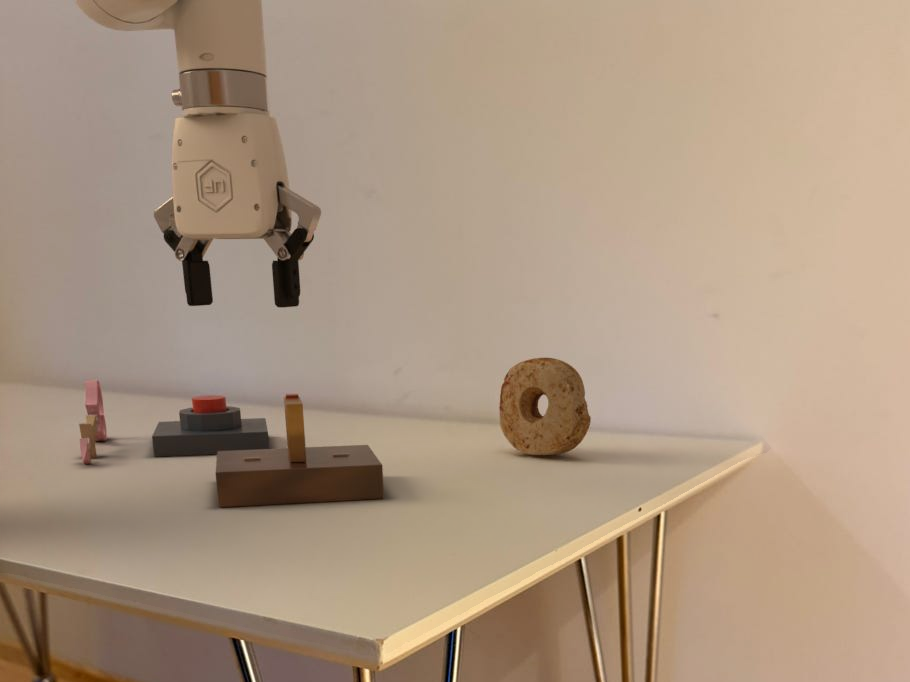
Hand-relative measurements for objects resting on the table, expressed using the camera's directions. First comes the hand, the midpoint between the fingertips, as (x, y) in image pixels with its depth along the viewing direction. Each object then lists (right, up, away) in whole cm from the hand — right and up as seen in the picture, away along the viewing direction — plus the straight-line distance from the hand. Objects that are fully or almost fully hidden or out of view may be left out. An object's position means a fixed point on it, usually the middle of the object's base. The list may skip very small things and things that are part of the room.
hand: (243, 305), depth 93 cm
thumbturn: (+6, -15, -5) cm, 17 cm away
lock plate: (+6, -18, -4) cm, 19 cm away
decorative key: (-20, -11, +14) cm, 27 cm away
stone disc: (+29, -12, +12) cm, 33 cm away
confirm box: (-8, -10, +17) cm, 21 cm away
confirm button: (-8, -6, +16) cm, 19 cm away
